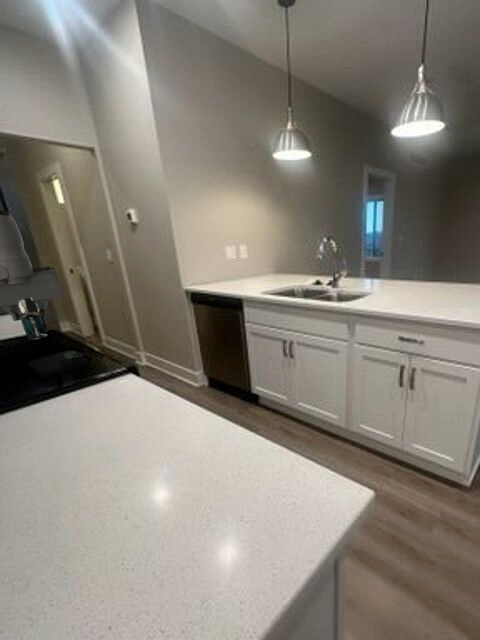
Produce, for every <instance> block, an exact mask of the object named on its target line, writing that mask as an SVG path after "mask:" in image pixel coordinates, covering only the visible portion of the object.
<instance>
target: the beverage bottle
mask: <svg viewBox="0 0 480 640" xmlns="http://www.w3.org/2000/svg"><path fill="white" fill-rule="evenodd" d="M19 318H20V319H21V320H20V321H21V325H22V328H23V331H24V334H25V335H26V338H27V339H28V340H31V341H33V340H34V339H30V337H32V336H34V335H35V334H36V332H35V329H34V327H33V325H32V324H31V320H28V319H23V318H21V317H19ZM33 320H34V321H35V326H36V329H37V331H38V333H39V334H47V335H48V333H47V329H46V327H45V323H44V321H43V317H42V315H41V314H40V315H39V316H38V317H36V318H35V319H33Z"/></svg>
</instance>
